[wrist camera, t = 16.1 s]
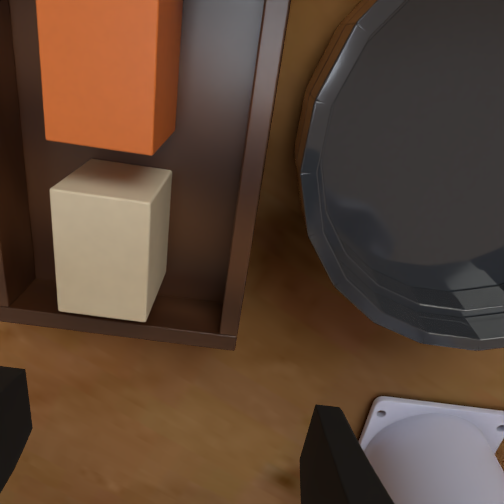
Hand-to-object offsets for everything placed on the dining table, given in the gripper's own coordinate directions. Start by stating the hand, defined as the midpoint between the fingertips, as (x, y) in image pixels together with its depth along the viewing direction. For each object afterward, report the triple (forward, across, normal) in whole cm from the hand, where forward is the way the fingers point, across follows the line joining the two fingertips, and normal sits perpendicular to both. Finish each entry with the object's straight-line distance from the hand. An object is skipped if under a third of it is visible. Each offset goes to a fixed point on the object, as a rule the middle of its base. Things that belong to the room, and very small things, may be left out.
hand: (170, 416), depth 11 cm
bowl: (+10, -10, -6) cm, 16 cm away
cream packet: (+10, +4, -1) cm, 11 cm away
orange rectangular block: (+10, +4, -7) cm, 13 cm away
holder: (+10, +4, -4) cm, 12 cm away
